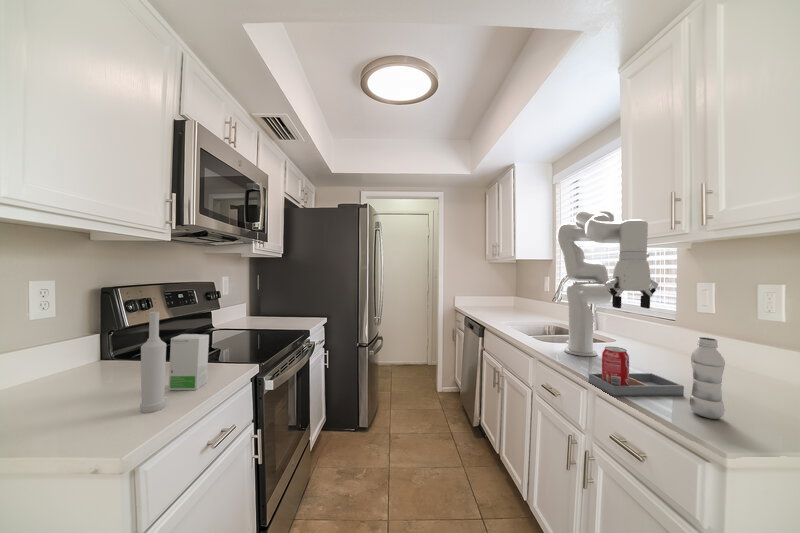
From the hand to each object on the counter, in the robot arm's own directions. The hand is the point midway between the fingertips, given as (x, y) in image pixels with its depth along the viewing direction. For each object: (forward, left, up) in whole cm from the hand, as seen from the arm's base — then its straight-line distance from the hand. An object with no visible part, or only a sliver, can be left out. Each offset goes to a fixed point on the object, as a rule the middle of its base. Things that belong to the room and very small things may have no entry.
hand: (630, 307), depth 105 cm
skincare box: (+2, -143, -25) cm, 145 cm away
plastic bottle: (+25, 0, -25) cm, 35 cm away
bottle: (+17, -143, -25) cm, 146 cm away
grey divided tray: (+7, -4, -25) cm, 26 cm away
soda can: (+6, -10, -24) cm, 27 cm away
